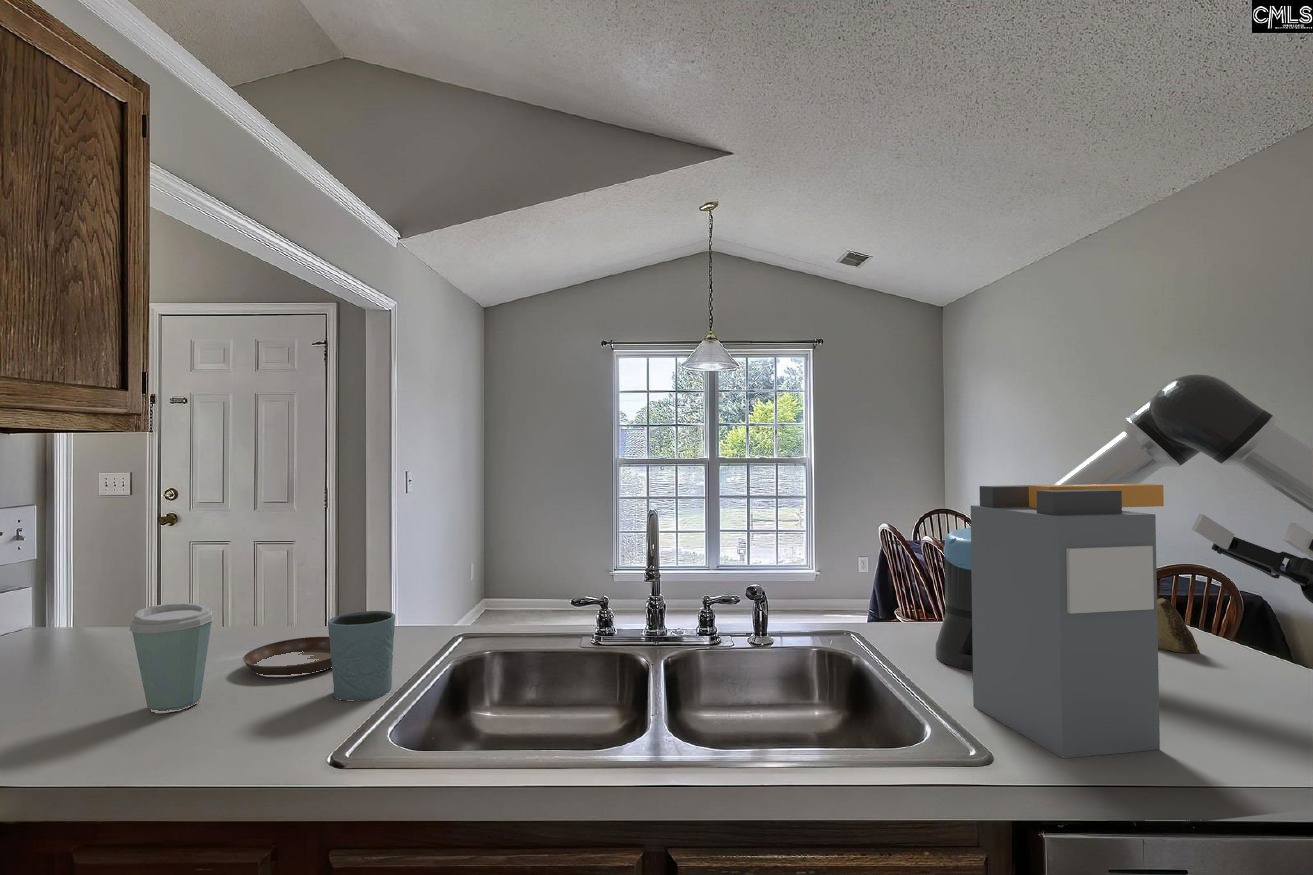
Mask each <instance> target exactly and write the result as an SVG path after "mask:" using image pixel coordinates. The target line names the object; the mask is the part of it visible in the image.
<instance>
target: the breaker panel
mask: <svg viewBox="0 0 1313 875" xmlns="http://www.w3.org/2000/svg"><path fill="white" fill-rule="evenodd" d="M1036 492H1037V507H1029V485H1028V484H1027V485H1025V484H1023V485H1022V484H1021V485H1020V484H1019V485H1018V484H1017V485H979V505H977V504H976V505H970V528H971V572H972V643H973V671H972V692H973V693H972V694H973V695H972V696H973V697H972V701H973V703H972V706H973V707H974V708H976V709H977V710H980V711H981V712H983V713H984V714H986V715H988V716H989V717H991V718H993V719H994V720H996V721H998V722H1000V723H1001V724H1003V725H1005V726H1006V727H1008V728H1010V729H1011V730H1013V731H1015V732H1017V733H1018V734H1020V735H1022V736H1024V738H1027V739H1029V740H1031V741H1032V742H1033V743H1035V744H1037V745H1039V746H1041V747H1042V748H1044V749H1045V750H1047V751H1049V752H1051V753H1052V754H1054V755H1056V756H1058V758H1059V757H1060V758H1061V759H1071V758H1084V757H1093V756H1102V755H1103V756H1105V755H1114V754H1124V753H1125V754H1126V753H1136V752H1138V753H1139V752H1148V751H1159V750H1161V745H1160V744H1161V742H1160V732H1161V731H1160V686H1159V676H1160V675H1159V648H1158V623H1157V600H1158V585H1157V584H1158V583H1157V578H1158V577H1157V531H1156V530H1157V529H1156V527H1157V526H1156V523H1157V522H1156V513H1147V512H1137V511H1128V510H1123V507H1122V491H1120V490H1105V489H1096V490H1040V491H1036Z"/></svg>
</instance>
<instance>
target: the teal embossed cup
mask: <svg viewBox="0 0 1313 875" xmlns="http://www.w3.org/2000/svg"><path fill="white" fill-rule="evenodd" d="M395 628H396V614H395V613H394V612H392V611H387V610H367V611H366V610H365V611H356V612H351V613H345V614H343V613H342V614H341V615H336V616H334V617H330V619H328V620H327V631H328V637H329V639H330V653H331V662H332V668H331V672H332V673H331V674H332V681H333V695H334V698H335V697H336V698H338V699H341V700H362V701H368V699H369V700H372V699H371V698H374V699H376V697H377V698H379V697H378V696H380V697H382V696H384V695H387V694H388V693H390V691H391V690H392V687H393V675H392V674H393V660H394V659H393V658H394V655H393V653H394V639H395V638H394V637H395ZM386 693H387V694H386ZM336 698H335V699H336ZM338 699H337V700H338ZM341 700H340V701H341Z"/></svg>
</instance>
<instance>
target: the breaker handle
mask: <svg viewBox="0 0 1313 875" xmlns="http://www.w3.org/2000/svg"><path fill="white" fill-rule="evenodd" d="M1096 489H1105V490H1120V491H1122V508H1145V507H1146V508H1147V507H1151V508H1152V507H1165V505H1164V504H1165V503H1164V484H1153V483H1152V484H1151V483H1140V484H1085V485H1053V484H1047V485H1046V484H1033V485H1032V484H1030V485H1029V507H1037V492H1036V491H1040V490H1096Z"/></svg>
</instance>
